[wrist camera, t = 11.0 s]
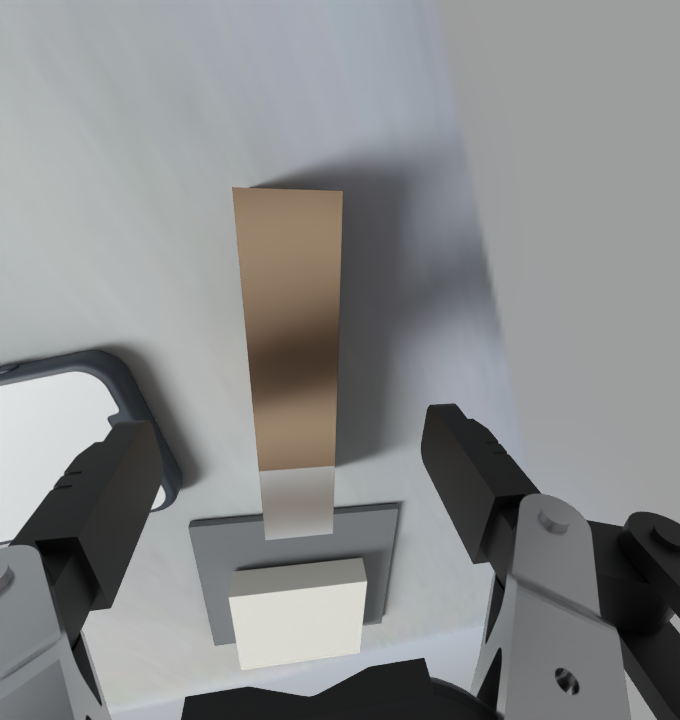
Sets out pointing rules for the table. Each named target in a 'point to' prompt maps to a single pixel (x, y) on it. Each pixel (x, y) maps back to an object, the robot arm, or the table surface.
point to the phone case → (64, 427)
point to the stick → (292, 349)
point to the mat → (291, 556)
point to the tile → (298, 612)
